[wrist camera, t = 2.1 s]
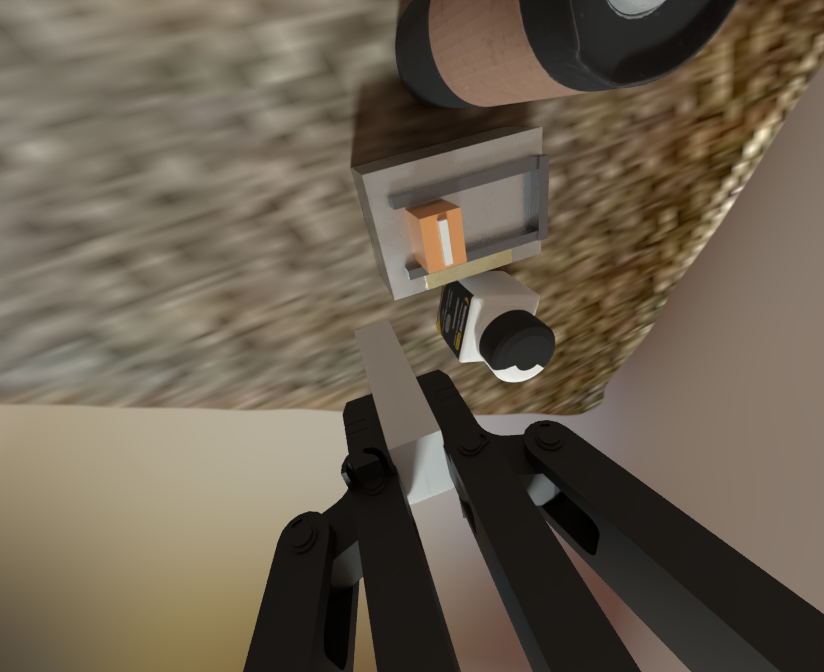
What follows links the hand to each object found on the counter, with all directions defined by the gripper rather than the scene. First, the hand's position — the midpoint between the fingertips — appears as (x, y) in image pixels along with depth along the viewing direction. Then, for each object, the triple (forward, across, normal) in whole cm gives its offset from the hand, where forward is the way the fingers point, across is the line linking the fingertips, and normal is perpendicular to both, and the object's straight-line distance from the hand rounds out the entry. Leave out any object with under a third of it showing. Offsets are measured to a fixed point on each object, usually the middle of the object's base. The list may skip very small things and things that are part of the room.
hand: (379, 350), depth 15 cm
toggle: (+13, +7, 0) cm, 15 cm away
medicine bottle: (+20, +12, -11) cm, 25 cm away
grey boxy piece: (+19, +10, 0) cm, 22 cm away
